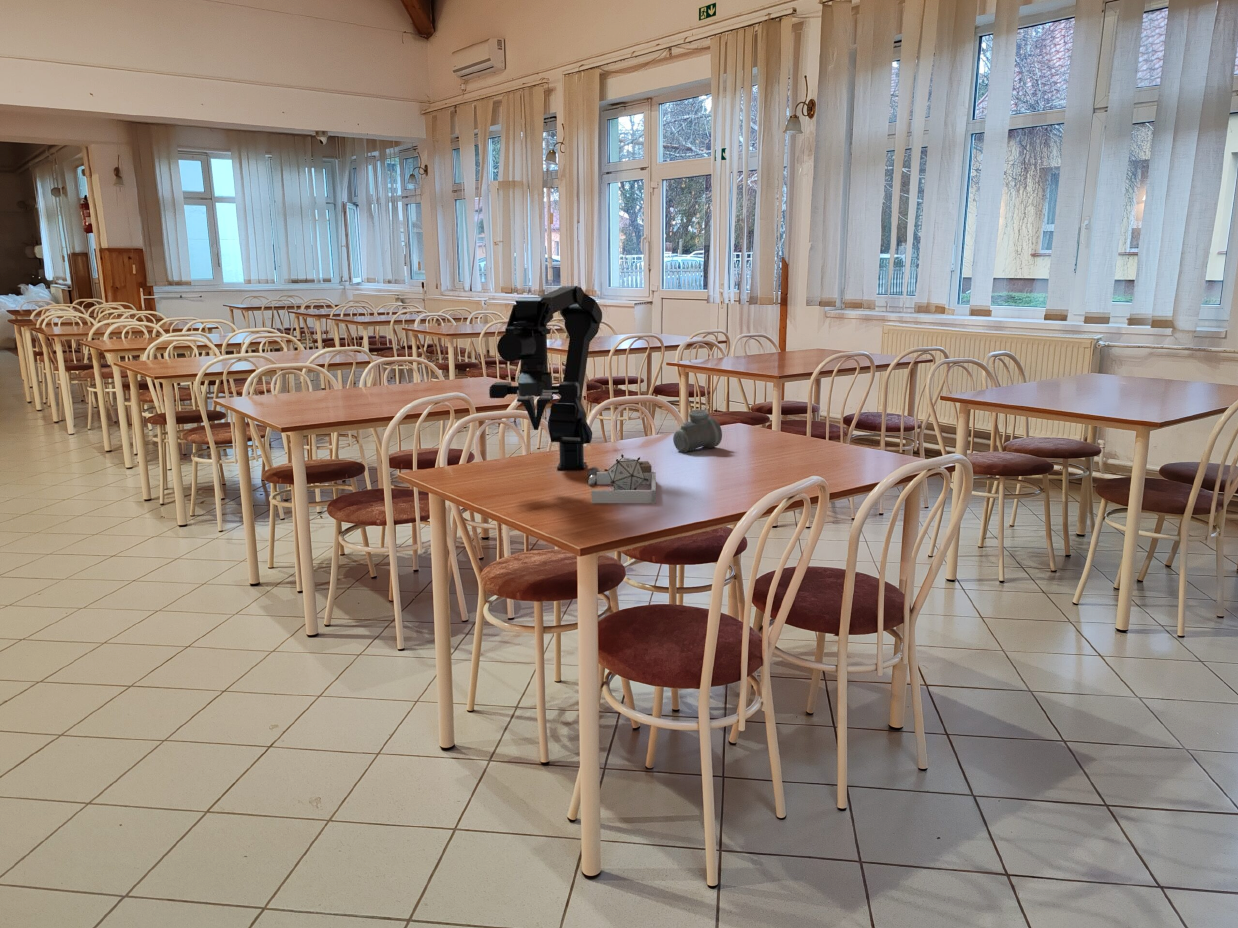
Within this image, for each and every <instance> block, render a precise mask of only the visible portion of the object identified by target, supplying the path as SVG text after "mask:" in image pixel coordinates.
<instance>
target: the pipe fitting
mask: <svg viewBox="0 0 1238 928" xmlns="http://www.w3.org/2000/svg"><path fill="white" fill-rule="evenodd" d="M688 416H689V418H690V419H689V421H687V422H683V423H682V424H681V426H680V429H678V430H676V431H675V432H674V433H673V438H672V440H673V445H674V447H675V449H676V450H677V451H679V452H680V453H687V452H690V451H693V450H696V449H700V448H702V447H704V448H707V449H708V448H709V449H711V448H714V447H718V446H719V445H720V444H721V443H722V438H723V431H722V427H721V424H720V423H719V422H718V421H717V419H715V418H714V417H711V416H710V412H709V411H708V410H705V409H694V410H691V411H689V412H688Z"/></svg>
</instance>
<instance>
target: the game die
mask: <svg viewBox="0 0 1238 928" xmlns="http://www.w3.org/2000/svg"><path fill="white" fill-rule="evenodd" d="M624 456H625V455H624V454H622V453H621V455H620V457H621V458H620V459H618V458H616V459H615V463H614V464H613V465H611V466H610V467H609V468H608V469H606V468H604V469H603V472H608V474H609V476H610V479H611V483H610V484H609V485H612V486H613V490H637V488H638V487H639V486H640V485H642V484H641V483H642V482H643V481H644V480H646V481H649V480H648V479H647V478H646V479H645V477H644V474H643V472H642V469H641V468H642V467H641V466H640V464H639V461H641V456H639V457H637V459H634V458H630V457H629V458H628V457H624Z"/></svg>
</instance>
